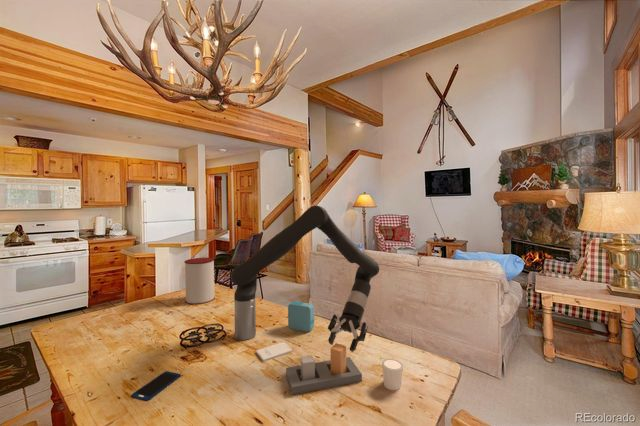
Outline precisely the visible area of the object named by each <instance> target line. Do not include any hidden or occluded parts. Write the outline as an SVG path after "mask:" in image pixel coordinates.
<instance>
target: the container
mask: <svg viewBox="0 0 640 426" xmlns="http://www.w3.org/2000/svg"><path fill="white" fill-rule="evenodd" d="M214 263H215V258H213V257H194V258H189V259H186V260H184V266H185V267H184V268H185V269H184V270H185V273H184V274H185V278H184V279H185V300H184V302H185V303H186V304H187V305H192V304H195V305H202V304H203V305H204V304H208V303H210V302H213V301H214V300H215V299H216V296H215V264H214Z"/></svg>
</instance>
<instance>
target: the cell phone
mask: <svg viewBox="0 0 640 426" xmlns="http://www.w3.org/2000/svg"><path fill="white" fill-rule="evenodd" d="M181 377H182V374H181V373H179V372H178V373H176V372H172V371H166V370H165V371H163V372H162V373H160V374H159V375H158V376H156V377H155V378H153V379H152V380H149V382H148V383H146V384H144V385H143V386H142V387H140V388H139V389H137V390H136V391H134V392H133V393H131V395H130V397H131V398H132V399H135V400H141V401H144V402H149V401H151V400H152V399H153V398H155V397H156V396H157V395H159V393H161V392H163V391H164V390H165V389H166V388H168V387H169V386H170V385H171V384H173V383H175V381H177V380H178V379H179V378H181ZM167 386H168V387H167Z"/></svg>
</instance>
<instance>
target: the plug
mask: <svg viewBox="0 0 640 426" xmlns="http://www.w3.org/2000/svg"><path fill="white" fill-rule="evenodd" d="M346 358H347V346H345V345H344V344H343V345H342V344H340V343H337V342H336V343H334V344H333V345H332V346H331V347H330V360H331V370H330V373H331V374H332V375H338V374H343V373H347V372H346Z"/></svg>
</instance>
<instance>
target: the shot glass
mask: <svg viewBox="0 0 640 426" xmlns="http://www.w3.org/2000/svg"><path fill="white" fill-rule="evenodd" d="M381 366H382V367H381V368H382V378H383V386H384V387H385V389H388V390H391V391H398V390H401V388H402V383H403V372H404V364H403V363H402V362H401V361H400V360H398V359H394V358H386V359H383V360H382V361H381Z"/></svg>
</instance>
